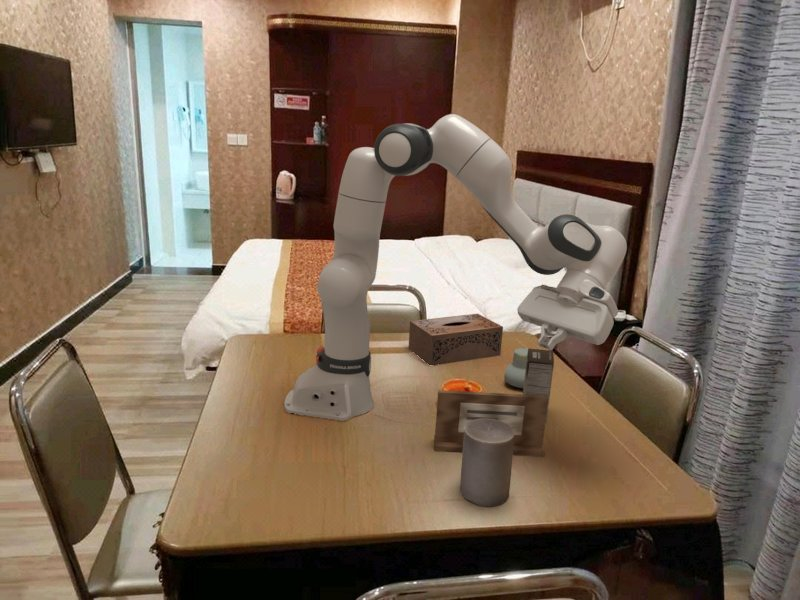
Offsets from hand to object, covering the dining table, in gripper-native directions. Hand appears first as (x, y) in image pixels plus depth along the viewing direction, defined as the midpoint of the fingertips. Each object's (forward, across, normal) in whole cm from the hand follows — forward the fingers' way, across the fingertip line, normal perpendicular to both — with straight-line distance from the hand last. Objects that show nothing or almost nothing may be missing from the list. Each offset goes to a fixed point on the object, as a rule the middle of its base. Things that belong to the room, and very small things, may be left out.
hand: (544, 346), depth 119 cm
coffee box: (+6, -14, +32) cm, 36 cm away
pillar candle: (+31, +2, +7) cm, 32 cm away
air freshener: (-3, -27, +41) cm, 49 cm away
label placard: (+21, -9, +16) cm, 28 cm away
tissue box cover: (-4, -56, +42) cm, 70 cm away
